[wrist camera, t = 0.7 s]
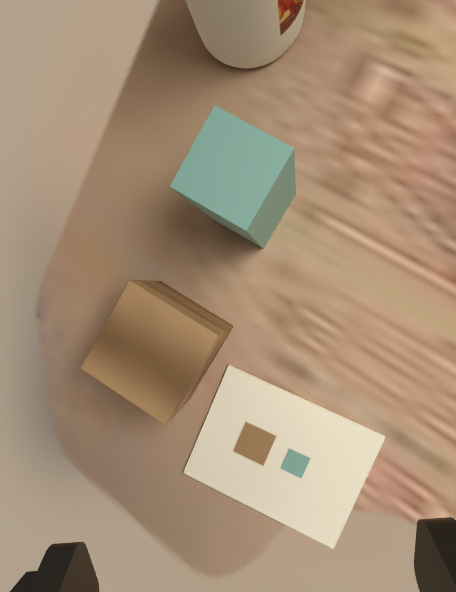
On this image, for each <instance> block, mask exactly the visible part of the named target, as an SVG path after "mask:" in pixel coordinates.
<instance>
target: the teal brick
mask: <svg viewBox="0 0 456 592" xmlns="http://www.w3.org/2000/svg"><path fill="white" fill-rule="evenodd" d="M170 187H171V188H172V189H174V190H175V191H176V192H178V193H179V194H180V195H181V196H183V197H184V198H185V199H187V200H188V201H189V202H191V203H192V204H193V205H194V206H196V207H197V208H198V209H200V210H201V211H202V212H204V213H205V214H206V215H207V216H209V217H210V218H211V219H213V220H215V221H217V222H218V223H220V224H222V225H223V226H225V227H227V228H229V229H230V230H232V231H234V232H235V233H237V234H239V235H241V236H242V237H244V238H246V239H247V240H249V241H251V242H253V243H254V244H256V245H258V246H260V247H261V248H263V249H264V247H265V245H266V244H267V242H268V240H269V238H270V237H271V235H272V233H273V232H274V230H275V228H276V227H277V225H278V223H279V221H280V220H281V218H282V216H283V215H284V213H285V211H286V210H287V208H288V206H289V205H290V203H291V201H292V199H293V198H294V196H295V194H296V187H295V154H294V148H293V147H291V146H290V145H288V144H286V143H284V142H282V141H280V140H278V139H277V138H275V137H273V136H271V135H269V134H267V133H265V132H263V131H262V130H260V129H258V128H256V127H254V126H252V125H250V124H249V123H247V122H245V121H243V120H241V119H239V118H237V117H236V116H234V115H232V114H230V113H228V112H226V111H224V110H223V109H221V108H219V107H217V106H215V105H214V107H213V109H212V111H211V113H210V114H209V116H208V118H207V120H206V122H205V123H204V125H203V127H202V129H201V131H200V133H199V134H198V136H197V138H196V140H195V142H194V143H193V145H192V147H191V149H190V151H189V152H188V154H187V156H186V158H185V160H184V162H183V163H182V165H181V167H180V169H179V171H178V172H177V174H176V176H175V178H174V180H173V181H172V183H171V185H170Z"/></svg>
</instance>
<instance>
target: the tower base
mask: <svg viewBox="0 0 456 592" xmlns="http://www.w3.org/2000/svg"><path fill="white" fill-rule="evenodd" d="M232 328H233V326H232V325H231V324H229V323H228V322H226V321H224V320H223V319H221V318H219V317H218V316H216V315H215V314H213V313H211V312H210V311H208V310H206V309H205V308H203V307H202V306H200V305H198V304H197V303H195V302H194V301H192V300H190V299H189V298H187V297H185V296H184V295H182V294H181V293H179V292H177V291H176V290H174V289H172V288H171V287H169V286H168V285H166V284H164V283H163V282H161V281H134V280H129V282H128V284H127V286H126V288H125V289H124V291H123V293H122V295H121V297H120V298H119V300H118V302H117V304H116V306H115V307H114V309H113V311H112V313H111V315H110V316H109V318H108V320H107V322H106V324H105V325H104V327H103V329H102V331H101V333H100V334H99V336H98V338H97V340H96V342H95V344H94V345H93V347H92V349H91V351H90V353H89V354H88V356H87V358H86V360H85V362H84V363H83V365H82V367H81V369H82V370H84V371H85V372H87V373H88V374H90V375H91V376H93V377H94V378H96V379H97V380H99V381H100V382H102V383H103V384H105V385H106V386H108V387H109V388H111V389H112V390H114V391H115V392H117V393H118V394H120V395H121V396H123V397H124V398H125V399H127V400H128V401H130V402H131V403H133V404H134V405H136V406H137V407H139V408H140V409H142V410H143V411H145V412H146V413H148V414H149V415H151V416H152V417H154V418H155V419H157V420H158V421H160V422H161V423H163V424H164V425H166V424H167V423H168V422H169V421H170V420H171V419H172V418H173V417H174V415H175V414H176V413H177V412H178V411H179V410H180V409H181V408H182V407H183V406H184V405H185V404H186V403H187V402H188V401H189V400H190V398H191V397H192V395H193V393H194V392H195V390H196V388H197V386H198V385H199V383H200V381H201V380H202V378H203V376H204V375H205V373H206V371H207V370H208V368H209V366H210V365H211V363H212V361H213V360H214V358H215V356H216V355H217V353H218V351H219V349H220V348H221V346H222V344H223V343H224V341H225V339H226V338H227V336H228V334H229V333H230V331H231V329H232Z"/></svg>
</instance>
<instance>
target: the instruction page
mask: <svg viewBox="0 0 456 592" xmlns="http://www.w3.org/2000/svg"><path fill="white" fill-rule="evenodd" d="M384 439H385V435H382V434H380V433H378V432H376V431H374V430H371V429H369V428H367V427H365V426H363V425H360V424H358V423H356V422H354V421H352V420H349V419H347V418H345V417H343V416H341V415H338V414H336V413H334V412H332V411H330V410H327V409H325V408H323V407H321V406H319V405H316V404H314V403H312V402H310V401H308V400H305V399H303V398H301V397H299V396H297V395H294V394H292V393H290V392H288V391H286V390H284V389H281V388H279V387H277V386H275V385H273V384H270V383H268V382H266V381H264V380H262V379H259V378H257V377H255V376H253V375H251V374H248V373H246V372H244V371H242V370H240V369H237V368H235V367H233V366H231V365H228V367H227V370H226V372H225V375H224V377H223V379H222V382H221V384H220V387H219V389H218V391H217V394H216V396H215V398H214V401H213V403H212V406H211V408H210V410H209V413H208V415H207V417H206V420H205V422H204V425H203V427H202V429H201V432H200V434H199V436H198V439H197V441H196V444H195V446H194V448H193V451H192V453H191V455H190V458H189V460H188V463H187V465H186V467H185V470H184V472H183V473H184V474H186V475H188V476H190V477H192V478H194V479H196V480H198V481H200V482H202V483H204V484H206V485H208V486H210V487H212V488H214V489H216V490H218V491H220V492H222V493H224V494H226V495H228V496H230V497H232V498H234V499H236V500H238V501H239V502H241V503H243V504H245V505H247V506H249V507H251V508H253V509H255V510H257V511H259V512H261V513H263V514H265V515H267V516H269V517H271V518H273V519H275V520H277V521H279V522H281V523H283V524H285V525H287V526H289V527H291V528H293V529H295V530H297V531H299V532H301V533H303V534H305V535H307V536H309V537H311V538H313V539H315V540H317V541H319V542H321V543H322V544H324V545H326V546H328V547H330V548H332V549H334V546H335V544H336V542H337V540H338V538H339V536H340V534H341V532H342V529H343V527H344V525H345V523H346V521H347V519H348V516H349V514H350V512H351V510H352V508H353V506H354V504H355V501H356V499H357V497H358V495H359V493H360V491H361V489H362V486H363V484H364V482H365V480H366V478H367V476H368V474H369V471H370V469H371V467H372V465H373V463H374V461H375V459H376V456H377V454H378V452H379V450H380V448H381V446H382V444H383V441H384Z"/></svg>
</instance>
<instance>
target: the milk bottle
mask: <svg viewBox="0 0 456 592" xmlns="http://www.w3.org/2000/svg"><path fill="white" fill-rule="evenodd" d="M185 1H186V3H187V6H188V8H189V11H190V13H191V16H192V18H193V21H194V23H195V26H196V28H197V31H198V33H199V35H200V37H201V39H202V42H203V44H204V45H205V47H206V48H207V50H208V51H209V52H210V53H211V54H212V55H213V56H214V57H215V58H216V59H218V60H219V61H221V62H222V63H224V64H227V65H229V66H232V67H236V68H243V69H247V68H256V67H260V66H264V65H266V64H268V63H270V62H273V61H274V60H276V59H277V58H278V57H280V56H281V55H282V54H283V53H284V52H285V51H286V50H287V49H288V48H289V47H290V46H291V45H292V43H293V42H294V41H295V39H296V37H297V36H298V34H299V32H300V30H301V27H302V24H303V20H304V15H305V4H306V0H185Z"/></svg>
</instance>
